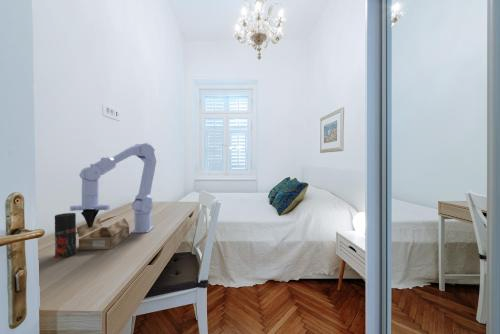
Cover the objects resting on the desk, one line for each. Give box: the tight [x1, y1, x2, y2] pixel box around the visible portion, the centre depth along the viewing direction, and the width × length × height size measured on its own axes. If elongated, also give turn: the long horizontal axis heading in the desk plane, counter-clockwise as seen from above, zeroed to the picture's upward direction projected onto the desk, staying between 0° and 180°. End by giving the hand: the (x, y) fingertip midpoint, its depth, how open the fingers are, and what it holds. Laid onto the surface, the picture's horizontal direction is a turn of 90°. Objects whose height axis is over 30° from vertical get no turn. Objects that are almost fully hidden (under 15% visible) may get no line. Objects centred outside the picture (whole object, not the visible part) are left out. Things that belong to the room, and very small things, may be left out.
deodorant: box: [54, 212, 77, 259], centre depth 81 cm, size 6×6×15 cm
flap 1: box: [76, 217, 103, 238], centre depth 93 cm, size 15×1×4 cm, turn 6°
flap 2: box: [106, 217, 130, 236], centre depth 94 cm, size 15×1×4 cm, turn 6°
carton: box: [78, 225, 130, 251], centre depth 94 cm, size 17×12×4 cm
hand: (90, 227), depth 93 cm, fingers closed, pressing on flap 1
